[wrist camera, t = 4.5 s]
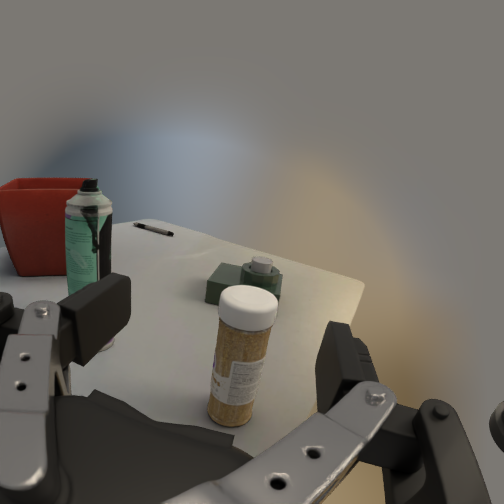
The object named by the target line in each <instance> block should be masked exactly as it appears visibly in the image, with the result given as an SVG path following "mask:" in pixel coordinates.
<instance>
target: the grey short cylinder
mask: <svg viewBox="0 0 504 504" xmlns="http://www.w3.org/2000/svg"><path fill="white" fill-rule="evenodd" d="M272 264H273V261H272V260H271V259H269V258H265V257H253V258H252V262H251V268H250V269H251V270H252V271H255V272H258V273H271V269H272Z"/></svg>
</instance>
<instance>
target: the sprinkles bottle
mask: <svg viewBox="0 0 504 504" xmlns="http://www.w3.org/2000/svg"><path fill="white" fill-rule="evenodd" d="M277 309H278V300H277V299H276V297H275V296H274V295H273V294H272V293H270V292H268V291H266V290H264V289H261V288H258V287H254V286H248V285H236V286H231V287H228V288H226V289H224V290H223V291H222V293H221V296H220V301H219V309H218V314H219V320H220V321H219V329H218V336H217V344H216V348H215V355H214V363H213V370H212V378H211V392H210V399H209V403H208V407H207V410H208V414H209V415H210V417H211V418H212V419H213V420H214V421H215V422H217V423H218V424H221V425H224V426H229V427H234V426H240V425H243V424H245V423H247V422H248V421H249V420H250V418H251V416H252V406H253V402H254V398H255V397H256V393H257V390H258V386H259V382H260V378H261V373H262V369H263V365H264V361H265V357H266V349H267V344H268V339H269V335H270V330H271V327H272V326H273V324H274V322H275V319H276V314H277Z"/></svg>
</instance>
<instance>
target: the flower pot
mask: <svg viewBox="0 0 504 504" xmlns="http://www.w3.org/2000/svg"><path fill="white" fill-rule="evenodd" d="M86 179H90V178H18V179H14V180H12V181H10V182H9V183H7V184H5V185H3V186H1V187H0V227H1V230H2V234H3V238H4V241H5V244H6V247H7V250H8V253H9V256H10V258H11V261H12V263H13V265H14V268H15V270H16V272H17V274H18V275H19V276H44V275H67V268H66V247H65V209H66V207H67V204H66V202H67V200H69V199H71V198H72V197H74V196H75V195H76V194H78V193H77V192H78V190H80V187H82V183H83V181H84V180H86Z"/></svg>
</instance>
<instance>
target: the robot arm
mask: <svg viewBox="0 0 504 504" xmlns="http://www.w3.org/2000/svg"><path fill="white" fill-rule="evenodd" d="M130 315H131V280H130V278H129V277H128V276H124V275H120V274H117V273H111V274H109V275H107V276H106V277H104V278H102V279H101V280H99V281H96V282H93V283H89V284H88V285H86V286H84V287H83V288H82V289H79V290H78V291H76V292H75V293H73V294H71V295H70V296H68V297H66V298H65V299H63V300H62V301H60V302H58V303H57V304H56V303H54V302H51V301H37V302H33V303H31V304H29V305H28V306H27V307H26V308H25V310H24V309H19V308H14V305H13V299H12V296H11V295H10V294H8V293H5V292H0V504H321V503H322V502H323V501H324V500H325V499H326V498H327V497H328V496H329V495H330V494H331V492H333V491H334V489H335V488H336V487H337V486H338V485H339V484H340V483H341V482H342V481H343V480H344V478H345V477H346V476H347V475H348V474H349V473H350V472H351V470H352V469H353V468H354V467H355V466H356V464H357V463H358V462H359V461H361V462H365V463H368V464H372V465H375V466H379V467H382V473H383V482H384V491H385V502H386V504H491V500H490V497H489V494H488V491H487V488H486V485H485V482H484V479H483V476H482V473H481V470H480V468H479V465H478V462H477V460H476V457H475V455H474V452H473V450H472V447H471V445H470V442H469V440H468V437H467V435H466V433H465V430H464V428H463V426H462V423H461V421H460V419H459V417H458V414H457V412H456V411H455V409H454V408H453V407H451V405H449V404H448V403H446V402H444V401H441V400H438V399H429V400H426V401H424V402H423V403H422V405H421V407H420V408H419V410H418V409H413V408H410V407H406V406H403V405H399V404H397V398H396V396H395V394H394V392H393V391H392V390H391V389H390V388H388V387H387V386H385V385H383V384H381V383H379V380H378V377H377V374H376V371H375V368H374V366H373V363H372V360H371V357H370V356H369V355H370V354H369V351H368V349H367V346H366V345H365V344H364V343H363V342H362V341H361V340H360V339H359V338H353V336H352V333H351V330H350V327H349V324H345V323H339V322H333V321H329V323H328V325H327V327H326V330H325V334H324V337H323V340H322V343H321V346H320V349H319V352H318V355H317V359H316V365H315V375H316V391H317V409H318V412H316V413H314V414H313V415H312V416H311V417H309V418H308V419H307V420H306V421H304V422H303V423H302V424H301V425H299V426H298V427H297V428H295V429H294V430H293V431H291V432H290V433H289V434H288V435H286V436H285V437H283V438H282V439H281V440H279V441H278V442H277V443H275V444H274V445H272V446H271V447H270V448H268V449H267V450H265V451H264V452H262V453H261V454H260V455H258V456H257V457H255V458H254V457H252V456H251V455H249V454H248V453H246V452H244V451H242V450H241V449H239V448H236V447H234V446H232V444H233V439H234V435H231V434H226V433H222V432H218V431H214V430H210V429H206V428H202V427H198V426H192V425H181V424H172V423H164V422H158V421H154V420H152V419H150V418H149V417H147V416H146V415H144V414H142V413H141V412H139V411H138V410H136V409H135V408H133V407H131V406H130V405H128V404H127V403H125V402H124V401H121V400H119V399H116V398H114V397H111V396H109V395H107V394H104V393H102V392H100V391H98V390H95V389H94V390H93V392H92V393H91V394H90V395H89V396H88V397H84V396H75V395H72V393H71V371H70V366H69V364H70V363H71V362H75V363H77V364H79V365H81V366H83V367H84V366H85V365H86V364H87V363H88V362H89V361H90V360H91V359H92V358H93V357H94V356H95V355H96V354H97V353H98V352H99V351H100V350H101V349H102V348H103V347H104V346H105V345H106V344H107V343H108V342H109V341H110V340H111V339H112V338H113V337H114V336H115V335H116V334H117V333H118V332H119V331H121V330H122V329H123V328H124V327H125V326H126V325H127V323H128V321H129V319H130ZM502 419H503V423H504V410H503V413H502Z"/></svg>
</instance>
